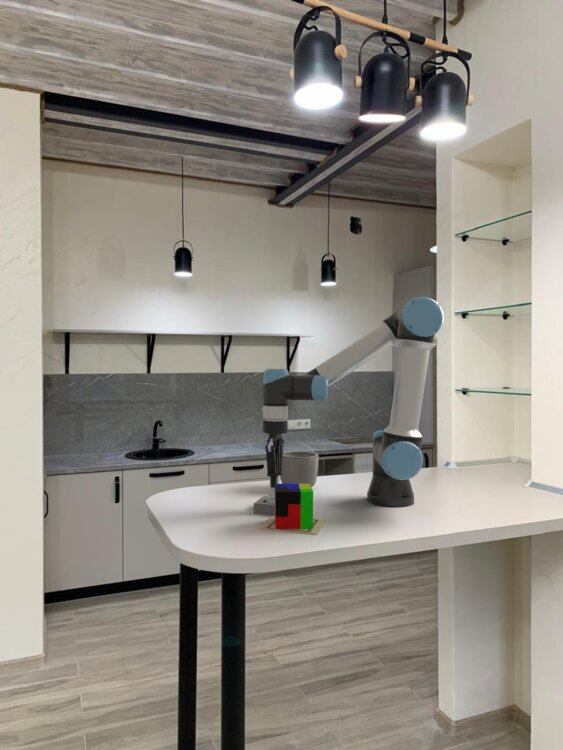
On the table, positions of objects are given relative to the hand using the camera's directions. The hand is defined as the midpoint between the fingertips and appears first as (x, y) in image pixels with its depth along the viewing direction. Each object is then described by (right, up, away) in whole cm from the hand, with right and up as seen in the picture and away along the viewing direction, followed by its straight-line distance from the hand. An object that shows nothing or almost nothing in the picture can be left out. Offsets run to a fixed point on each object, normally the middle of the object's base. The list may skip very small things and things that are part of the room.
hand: (274, 497), depth 166 cm
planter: (+8, -4, +26) cm, 27 cm away
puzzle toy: (+5, -4, -15) cm, 16 cm away
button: (0, -4, 0) cm, 4 cm away
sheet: (+5, -4, -15) cm, 16 cm away
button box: (0, -4, 0) cm, 4 cm away
